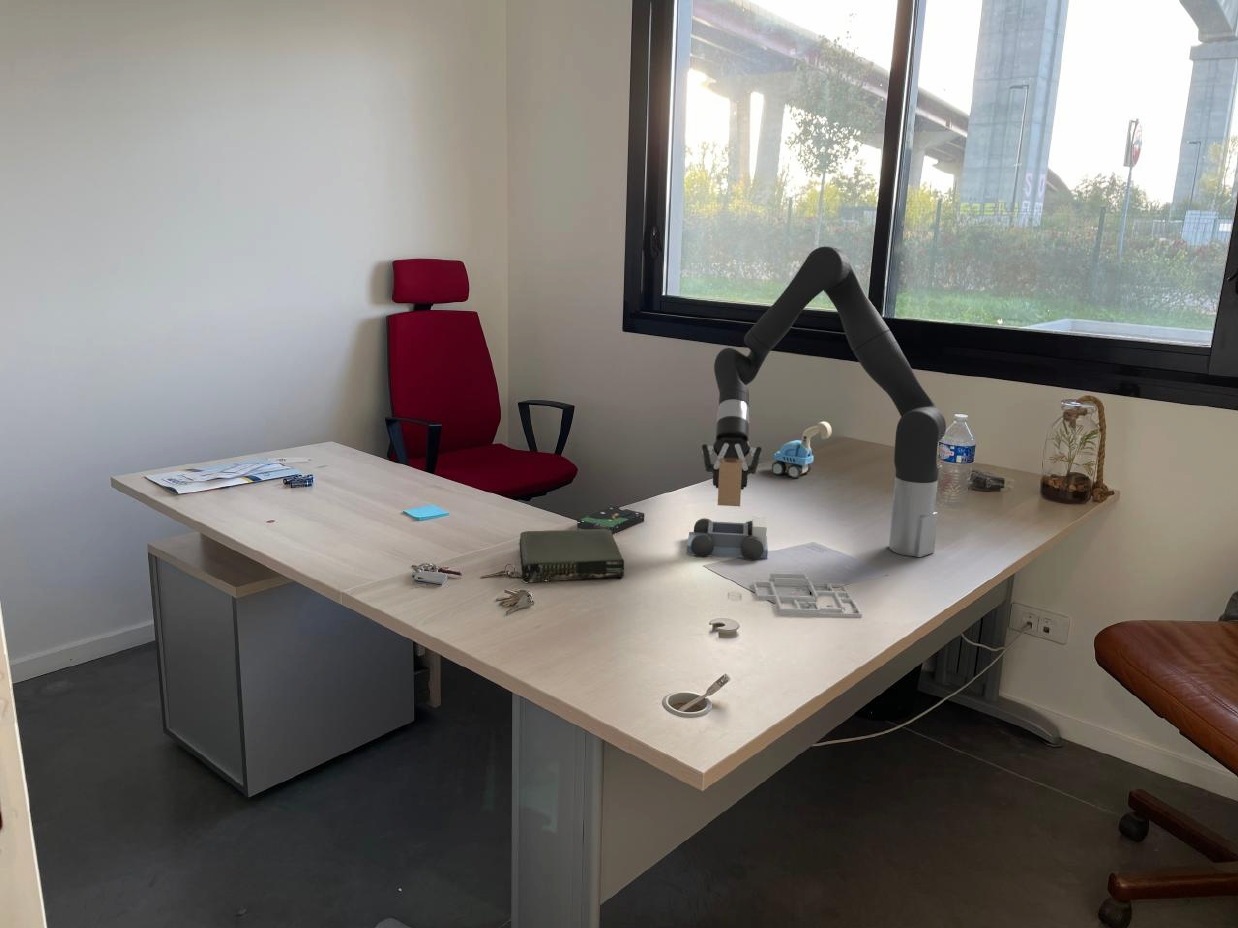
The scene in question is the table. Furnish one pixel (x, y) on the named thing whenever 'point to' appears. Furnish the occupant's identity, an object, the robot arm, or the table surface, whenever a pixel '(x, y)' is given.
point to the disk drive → (611, 519)
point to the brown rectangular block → (729, 481)
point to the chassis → (729, 539)
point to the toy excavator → (799, 452)
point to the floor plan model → (800, 601)
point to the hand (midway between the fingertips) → (729, 487)
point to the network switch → (569, 555)
